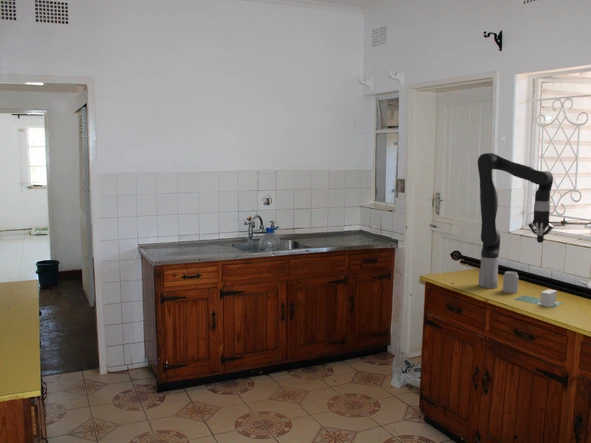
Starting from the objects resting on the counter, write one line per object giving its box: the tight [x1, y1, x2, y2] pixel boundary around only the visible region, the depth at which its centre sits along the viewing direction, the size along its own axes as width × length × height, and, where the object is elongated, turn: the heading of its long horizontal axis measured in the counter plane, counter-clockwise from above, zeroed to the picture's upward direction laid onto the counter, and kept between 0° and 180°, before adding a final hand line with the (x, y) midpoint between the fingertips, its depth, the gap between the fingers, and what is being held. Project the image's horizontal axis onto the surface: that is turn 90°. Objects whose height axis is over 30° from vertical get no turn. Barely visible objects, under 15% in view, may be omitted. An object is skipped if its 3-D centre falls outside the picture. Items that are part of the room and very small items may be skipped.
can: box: [502, 270, 519, 294], centre depth 299 cm, size 8×8×12 cm
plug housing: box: [540, 288, 558, 306], centre depth 276 cm, size 8×4×6 cm, turn 132°
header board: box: [513, 294, 564, 309], centre depth 280 cm, size 20×12×4 cm, turn 42°
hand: (540, 242), depth 291 cm, fingers closed
